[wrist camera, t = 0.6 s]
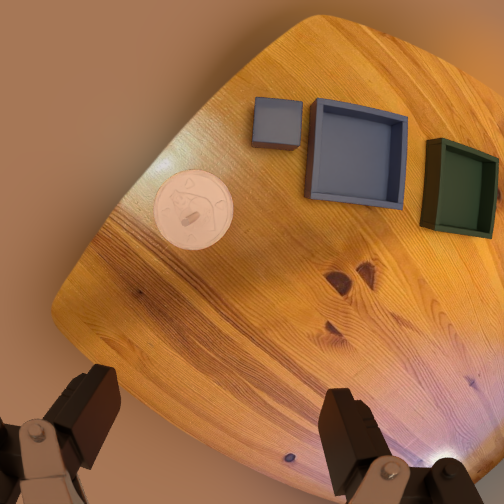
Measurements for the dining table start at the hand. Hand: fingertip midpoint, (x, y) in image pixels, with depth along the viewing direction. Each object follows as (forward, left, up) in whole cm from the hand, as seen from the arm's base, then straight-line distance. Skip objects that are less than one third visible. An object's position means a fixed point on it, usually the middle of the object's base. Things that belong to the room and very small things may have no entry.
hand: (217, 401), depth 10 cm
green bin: (-10, +27, -24) cm, 38 cm away
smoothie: (-5, -4, -24) cm, 25 cm away
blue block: (-14, +3, -24) cm, 28 cm away
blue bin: (-12, +12, -24) cm, 29 cm away
